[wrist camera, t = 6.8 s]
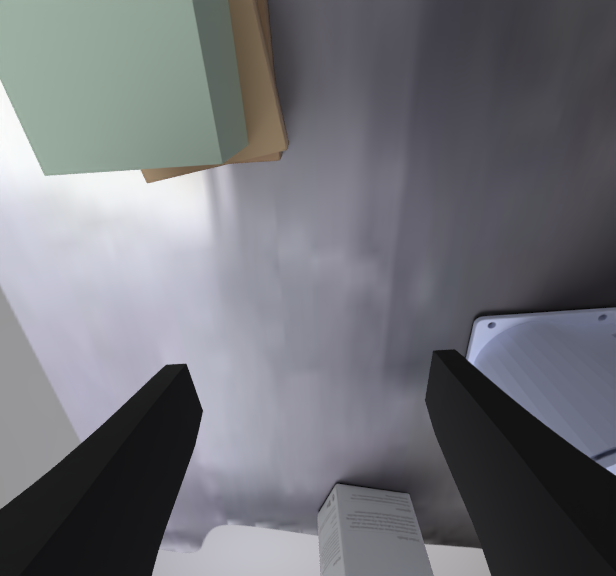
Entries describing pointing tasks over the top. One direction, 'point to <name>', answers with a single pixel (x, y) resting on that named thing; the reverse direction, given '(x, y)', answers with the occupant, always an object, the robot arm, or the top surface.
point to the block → (123, 82)
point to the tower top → (247, 93)
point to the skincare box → (370, 534)
